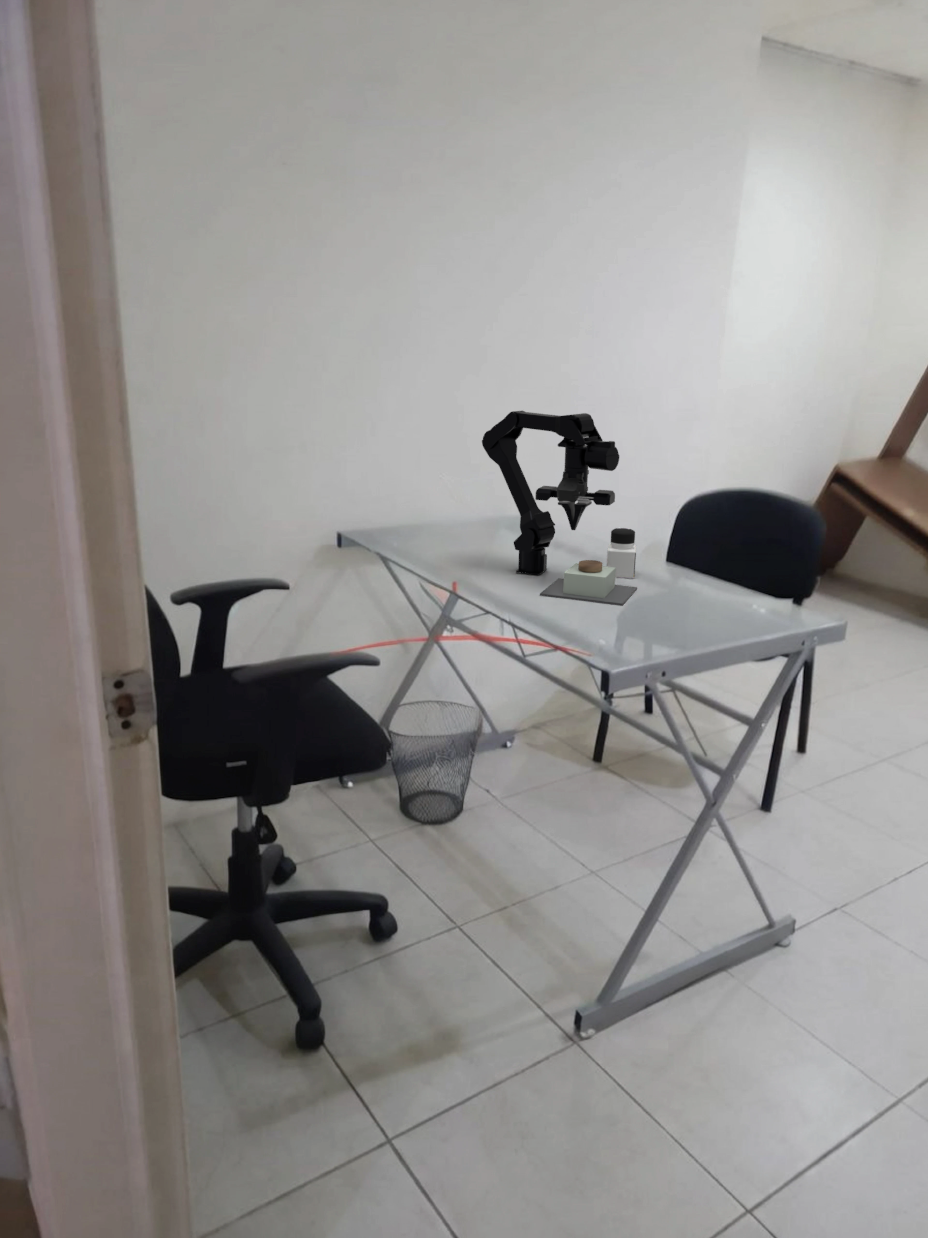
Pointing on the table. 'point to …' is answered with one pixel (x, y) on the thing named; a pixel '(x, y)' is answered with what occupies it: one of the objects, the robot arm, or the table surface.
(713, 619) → the table surface
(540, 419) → the robot arm
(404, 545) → the table surface
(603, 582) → the press base
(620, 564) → the medicine bottle
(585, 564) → the plunger
